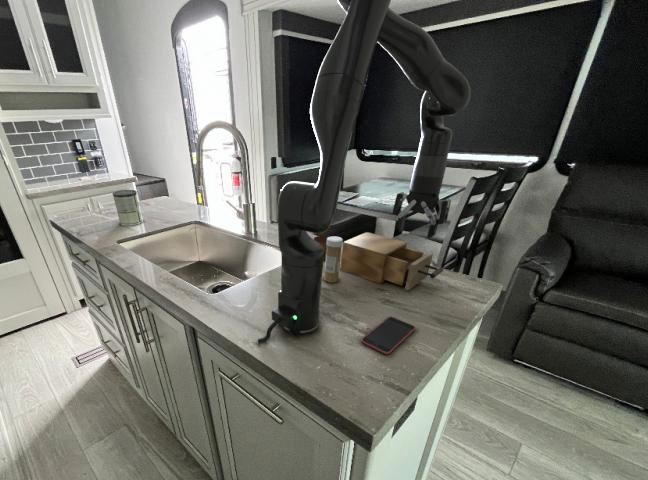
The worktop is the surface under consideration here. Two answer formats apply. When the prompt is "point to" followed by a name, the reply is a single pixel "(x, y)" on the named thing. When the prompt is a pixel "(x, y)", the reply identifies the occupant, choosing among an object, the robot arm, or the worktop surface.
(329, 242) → the sprinkles bottle
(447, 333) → the worktop surface
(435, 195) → the robot arm
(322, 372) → the worktop surface
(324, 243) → the cup and saucer
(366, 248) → the cabinet
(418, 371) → the worktop surface
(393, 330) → the smartphone
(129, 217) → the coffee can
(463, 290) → the worktop surface
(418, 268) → the drawer
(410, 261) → the block
